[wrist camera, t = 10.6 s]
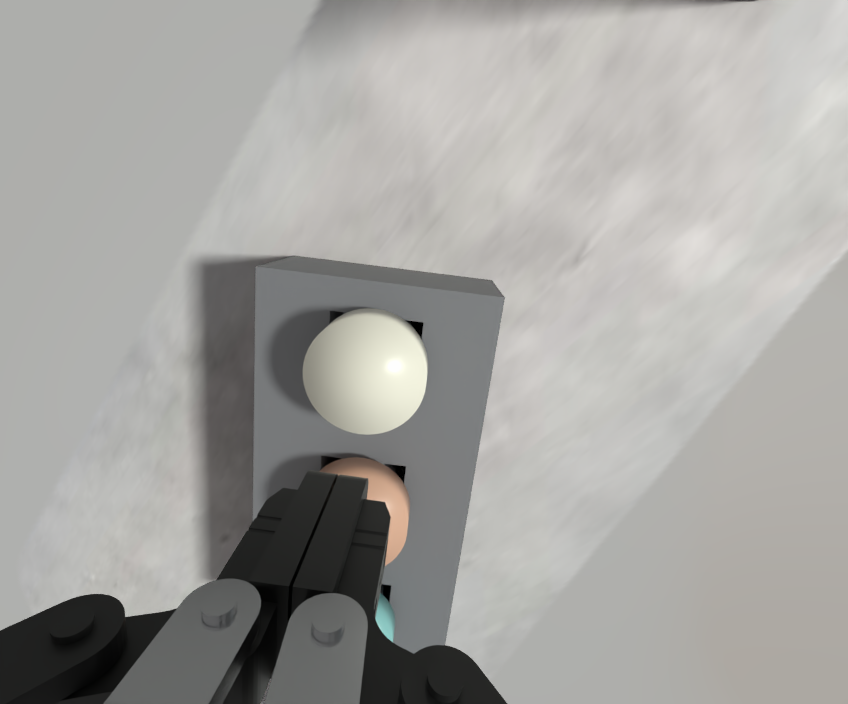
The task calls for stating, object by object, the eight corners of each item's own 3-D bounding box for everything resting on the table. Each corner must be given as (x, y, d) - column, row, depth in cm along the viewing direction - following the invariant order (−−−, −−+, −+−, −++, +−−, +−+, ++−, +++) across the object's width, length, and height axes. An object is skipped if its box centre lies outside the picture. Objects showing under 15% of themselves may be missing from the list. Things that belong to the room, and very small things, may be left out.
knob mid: (334, 408, 29) (298, 471, 22) (420, 419, 29) (413, 486, 22) (328, 484, 31) (293, 565, 24) (411, 494, 31) (401, 579, 24)
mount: (294, 255, 28) (255, 266, 22) (492, 280, 27) (504, 297, 22) (283, 576, 34) (251, 648, 29) (440, 596, 34) (440, 673, 29)
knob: (342, 284, 27) (305, 309, 20) (436, 296, 27) (433, 325, 20) (336, 373, 28) (300, 426, 21) (425, 384, 28) (418, 441, 21)
